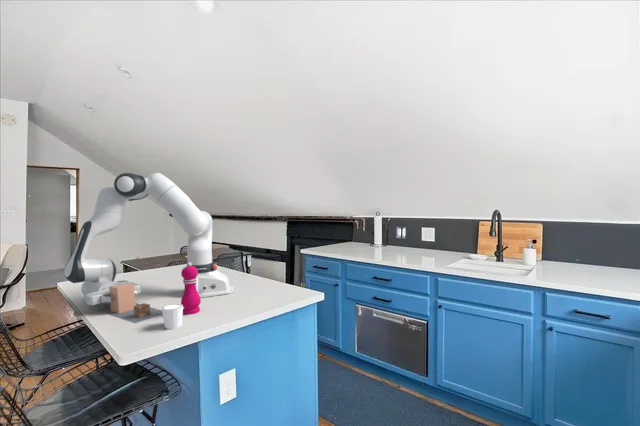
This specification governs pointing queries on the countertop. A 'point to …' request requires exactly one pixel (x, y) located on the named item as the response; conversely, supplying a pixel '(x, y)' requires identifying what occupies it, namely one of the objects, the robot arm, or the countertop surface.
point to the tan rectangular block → (122, 297)
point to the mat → (130, 316)
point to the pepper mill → (190, 290)
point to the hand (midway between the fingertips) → (123, 296)
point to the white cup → (172, 315)
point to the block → (142, 310)
